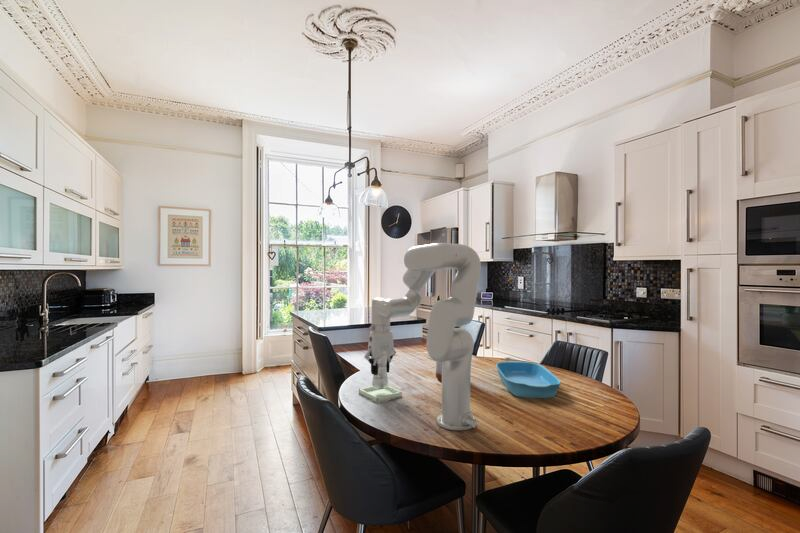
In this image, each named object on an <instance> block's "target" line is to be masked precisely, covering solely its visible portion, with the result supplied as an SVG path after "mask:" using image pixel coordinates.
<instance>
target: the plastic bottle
mask: <svg viewBox="0 0 800 533" xmlns="http://www.w3.org/2000/svg"><path fill="white" fill-rule="evenodd" d="M387 358H388V357H387V352H386V351H383V353H382V357H381V358H377V362H376V365H377V375H373V374H372V380H371V383H372V386H373V387H374V388H375V389H385V388H386V387H387V386H389V379H388V373H387ZM373 361H374V360H373Z"/></svg>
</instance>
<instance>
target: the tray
mask: <svg viewBox="0 0 800 533" xmlns="http://www.w3.org/2000/svg"><path fill="white" fill-rule="evenodd" d="M402 394H403V392H402V391H401V390H399V389H397V388H394V387H392V386H389V385H388V386H387V387H386V388H385V389H375V388H374V387H373V385H371V386H367V387H362V388H358V395H360V396H362V397H364V398H366V399H368V400H369V401H372V402H374V403H376V404H379V403H383V402H388V401H390V400H395V399H398V398H402V397H403V395H402Z"/></svg>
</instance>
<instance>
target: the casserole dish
mask: <svg viewBox="0 0 800 533" xmlns="http://www.w3.org/2000/svg"><path fill="white" fill-rule="evenodd" d="M495 364H496V365H495V366H496V369H497V373H498V376H499V378H500V380H501V381H502V383H503V384H504V386H505V388H506V389H507V391H508V392H510V393H511V394H512V395H513V396H515V397H518V398H524V399H525V398H526V399H527V398H528V399H549V398H550V399H551V398H553V397H555V396H556V395H557V393H558V391H559V388H560V385H561V383H562V381H561V380H560V379H559V378H558V377H557V376H556V375H555V374H553V373H552V372H551V371H550V370H549V369H548V368H546V367H545V366H544V365H541V364H539V363H535V362H529V361H520V360H508V361H499V362H497V363H495Z"/></svg>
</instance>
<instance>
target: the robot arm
mask: <svg viewBox="0 0 800 533" xmlns="http://www.w3.org/2000/svg"><path fill="white" fill-rule="evenodd" d="M403 263H404V266H405V268H406V269H407V270H406V272H405V273H404V274H403V276H402V281H403V283H404V285H405V286H406V287H407V288H408V289H409V290H408V291H407V292H406V294H405V295H404V296H403V297H397V298H389V297H383V296H382V297H373V299H371V322H370V323H371V324H370V326H369V327H368V328H369V329H368V330H369V331H370V332H369V337H368V344H367V352H366V353H365V355H364V356H363V358H364V359H365V360H366V361H367V362H368V363H369V364H370V373H371V375H372V376H373V375H377V365H376V362H377V358H381V357H382V353H383V351H386V352H387V357H388V358H387V374H389V373H390V363H391V362H392V359H393V358H394V357H395V355H396V354H397V351H396V350H395V348H394V336H393V331H392V330H391V319H395V318H404V317H408V316H410V315H411V314H413V312H414V311H415V310H416V309H417V308H418V306H419V305H420V304H421V301H422V300H423V288H425V285H426V284H427V282H428V281H429V280H430V279H431V278H432V276H433V275H434V274H435V272H436V271H437V270H456V273H455V275H454V277H453V279H452V281H451V286H450V292H449V297H445V298H441V299H439V300H437V301H436V302H434V304H433V305H432V306H431V309H430V313H429V320H428V326H427V334H426V342H425V343H426V352H427V354H428V356H429V357H430V359H431V360H433V361H434V362H436V363H437V362H438V363H442V366H441V414H439V415H438V416H437V417H436V423H437V425H438V426H439V427H441V428H443V429H446V430H451V431H467V430H470V429H472V428H476V426H477V424H478V423H479V419H478V418H475V417H473V411H471V369H472V367H471V366H472V357H473V353H474V339H473V336H472V334H471V333H470V332H469V330H466V329H465V328H462V326H463V327H464V326H466V325H468V324H470V323H471V322H472V321H473V319H474V315H475V314H474V313H475V307H476V301H477V300H476V299H477V294H478V285H479V280H480V276H481V269H482V266H481V265H482V263H481V258H480V256H479V254H478V253H477V251H476V250H474V249H473V248H472V247H471V246H468V245H467V244H460V243H449V242H436V243H435V242H434V243H430V244H423V245H415V246H412V247H410V248H409V249H407V251H406V253H405V254H404V256H403ZM373 360H374V361H373Z"/></svg>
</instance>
